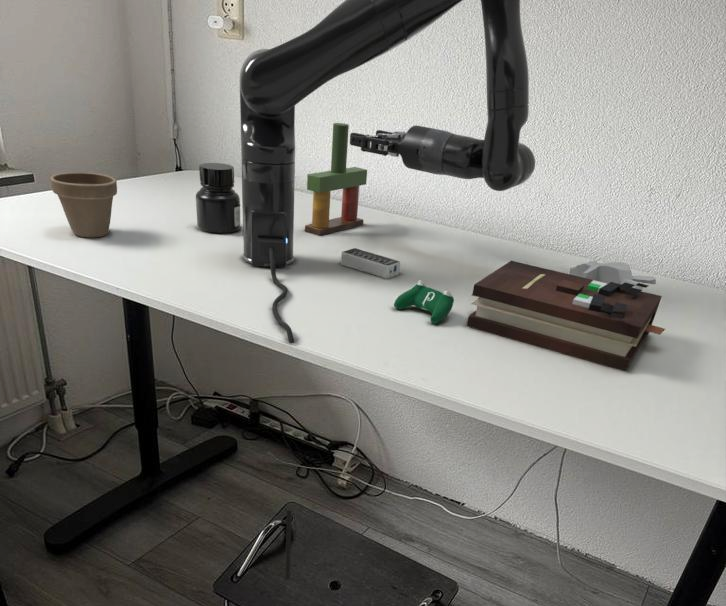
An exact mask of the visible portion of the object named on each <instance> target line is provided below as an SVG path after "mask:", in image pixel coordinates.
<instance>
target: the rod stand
mask: <svg viewBox="0 0 726 606" xmlns="http://www.w3.org/2000/svg"><path fill="white" fill-rule="evenodd" d="M359 197H360V186H354V187H349V188H344V189H342V199H341V213H340V214H341V215H340V216H339V217H335V218H331V219H330V209H331V208H330V207H331V191H328V192H322V193H318V192H314V191H312V213H311V214H312V217H311V219H312V221H311V223H309V224H305V225H304V232H307V233H310V234H313V235H317V236H320V237H321V236H325V235H330V234H333V233H337V232H341V231H345V230H348V229H349V230H350V229H353V228H356V227H357V228H358V227H360V226H361V227H362V226H363V225H364V219H363V218H359V217H358V212H359V211H358V210H359Z"/></svg>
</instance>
